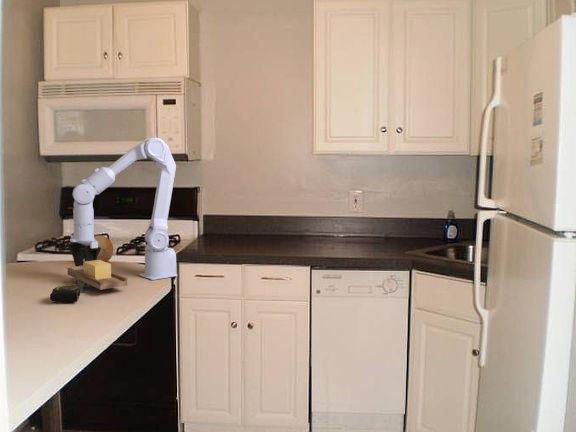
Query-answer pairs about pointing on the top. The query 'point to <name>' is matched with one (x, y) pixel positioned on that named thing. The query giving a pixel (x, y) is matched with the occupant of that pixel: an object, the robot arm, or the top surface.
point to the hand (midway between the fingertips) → (84, 268)
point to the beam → (100, 283)
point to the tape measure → (65, 294)
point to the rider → (97, 269)
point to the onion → (104, 248)
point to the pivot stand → (85, 287)
